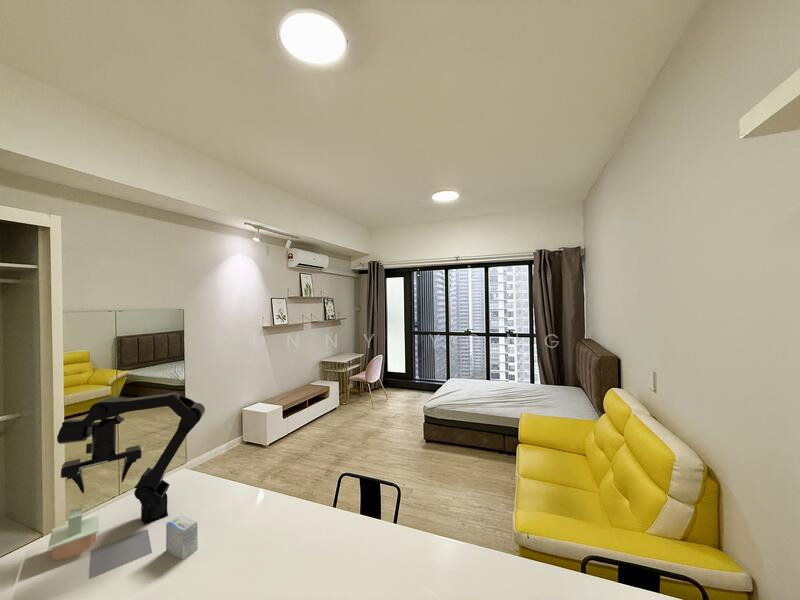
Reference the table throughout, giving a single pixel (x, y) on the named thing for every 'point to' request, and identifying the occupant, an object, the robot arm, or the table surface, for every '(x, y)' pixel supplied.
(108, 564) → the mat
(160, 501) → the robot arm
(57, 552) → the bowl
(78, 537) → the mint green lid
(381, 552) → the table surface
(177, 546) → the medicine box
